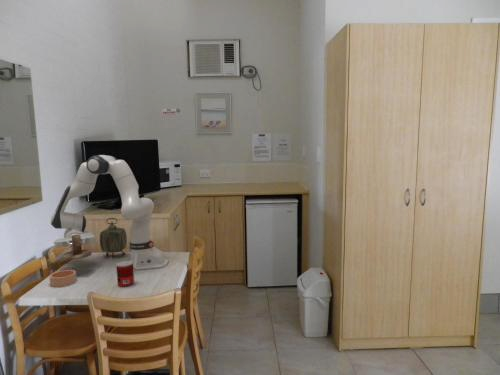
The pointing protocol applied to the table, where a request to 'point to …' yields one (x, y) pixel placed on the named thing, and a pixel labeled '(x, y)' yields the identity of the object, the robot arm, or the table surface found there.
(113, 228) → the tabletop clock
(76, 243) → the lid
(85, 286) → the table surface
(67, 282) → the bowl
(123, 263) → the canned food
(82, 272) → the mat
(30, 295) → the table surface
